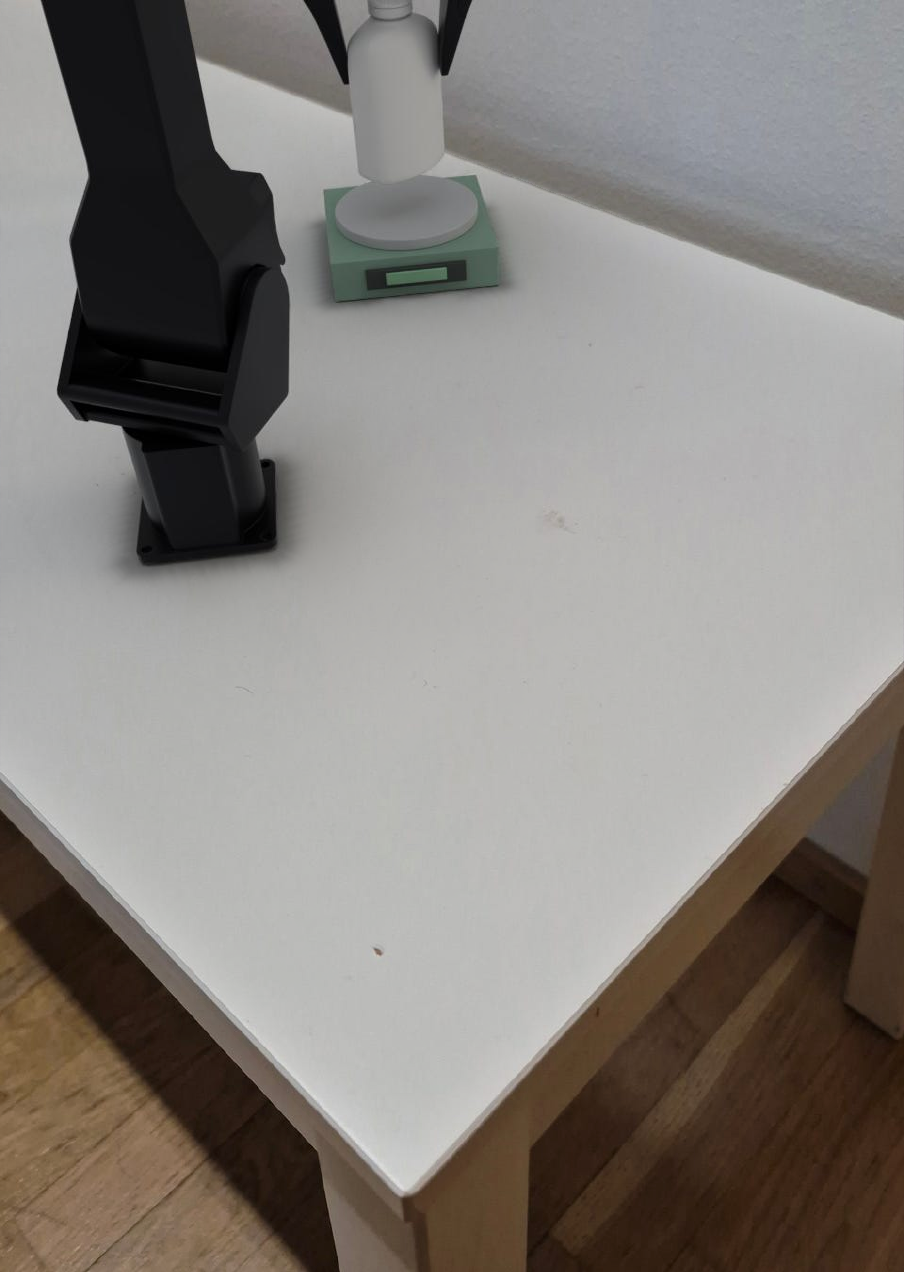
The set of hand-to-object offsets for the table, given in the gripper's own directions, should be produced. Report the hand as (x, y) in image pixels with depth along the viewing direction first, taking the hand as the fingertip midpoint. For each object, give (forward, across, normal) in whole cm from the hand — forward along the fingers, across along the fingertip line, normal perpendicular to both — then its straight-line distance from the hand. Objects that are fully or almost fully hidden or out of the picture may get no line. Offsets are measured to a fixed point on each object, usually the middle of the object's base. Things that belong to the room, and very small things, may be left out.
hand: (395, 77), depth 66 cm
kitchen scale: (+11, 0, 0) cm, 11 cm away
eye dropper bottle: (+5, 0, 0) cm, 5 cm away
